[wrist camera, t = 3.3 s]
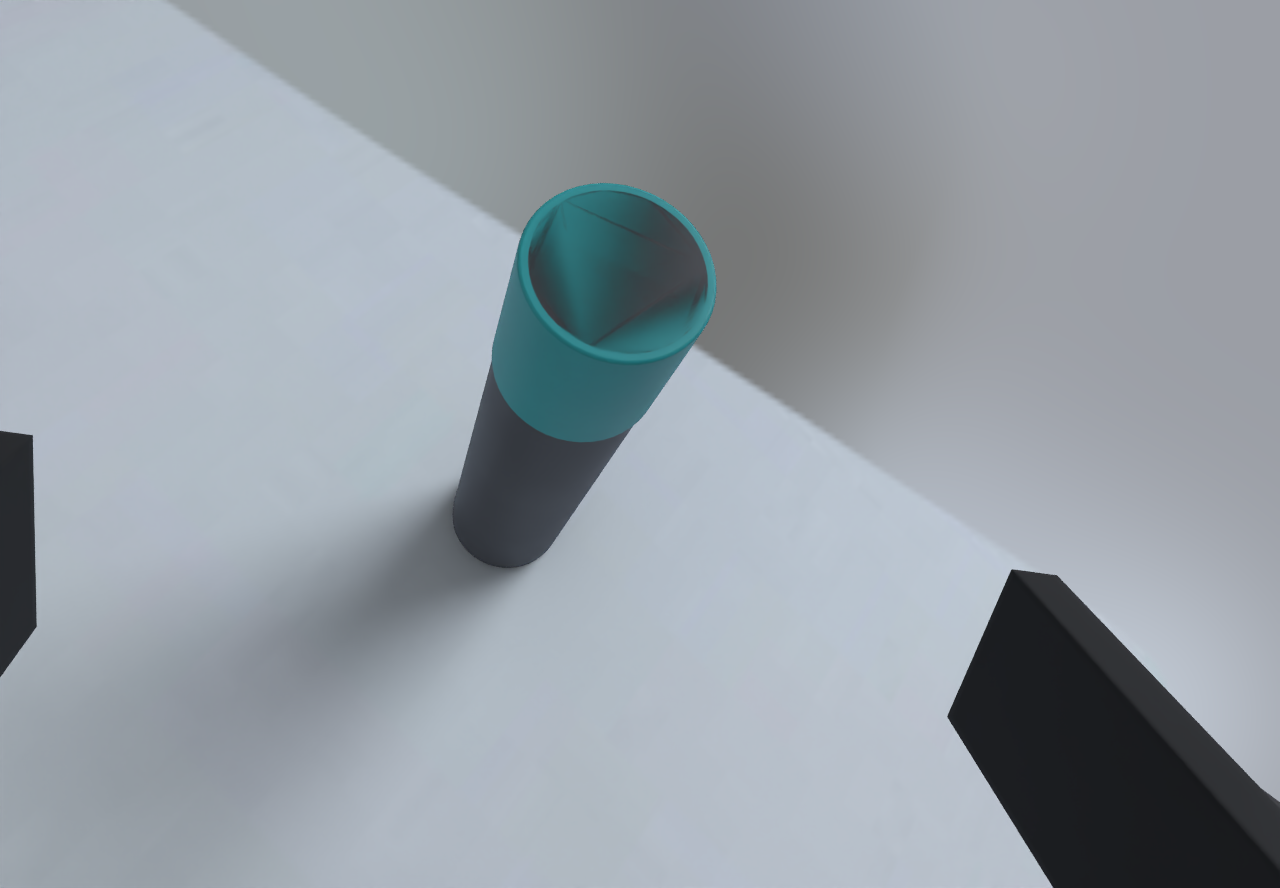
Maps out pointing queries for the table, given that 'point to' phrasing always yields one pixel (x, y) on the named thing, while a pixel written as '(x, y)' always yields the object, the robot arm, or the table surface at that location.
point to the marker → (577, 359)
